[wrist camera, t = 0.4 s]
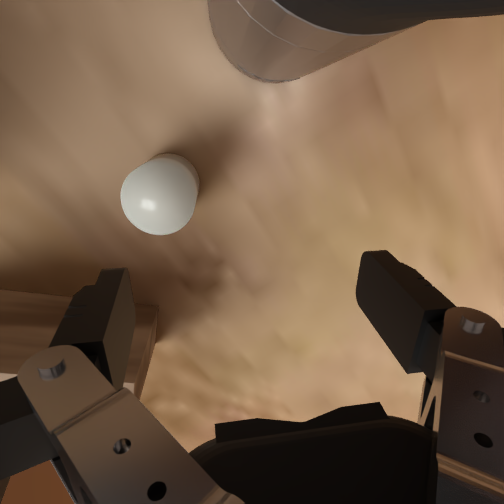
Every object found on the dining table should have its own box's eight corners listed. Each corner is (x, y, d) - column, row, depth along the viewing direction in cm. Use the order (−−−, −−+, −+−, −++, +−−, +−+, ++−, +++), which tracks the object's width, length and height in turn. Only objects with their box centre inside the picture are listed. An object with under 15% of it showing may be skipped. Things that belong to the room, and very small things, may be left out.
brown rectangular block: (-38, 284, 30) (-154, 361, 21) (158, 305, 32) (134, 383, 23) (-33, 326, 31) (-140, 415, 22) (155, 343, 34) (130, 431, 24)
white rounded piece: (142, 148, 27) (122, 157, 22) (202, 158, 28) (199, 169, 22) (138, 207, 29) (118, 229, 23) (195, 215, 30) (190, 239, 24)
